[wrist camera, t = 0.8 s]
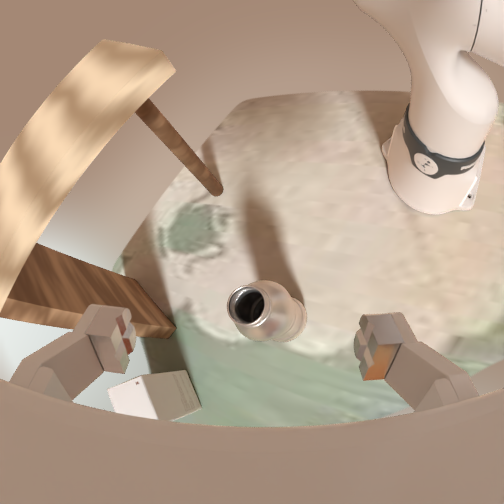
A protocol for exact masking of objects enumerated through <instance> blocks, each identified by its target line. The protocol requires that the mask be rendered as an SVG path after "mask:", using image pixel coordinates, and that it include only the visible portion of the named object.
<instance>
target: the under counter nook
mask: <svg viewBox="0 0 504 504" xmlns="http://www.w3.org/2000/svg"><path fill="white" fill-rule="evenodd" d="M175 72H176V70H175V68H174V67H173V66H172V64H171V63H170V61H169V60H168V59H167V57H166V56H165V54H164V53H163V51H161V50H157V49H153V48H148V47H143V46H138V45H133V44H128V43H123V42H117V41H111V40H105V39H103V40H102V41H101V42H100V43H99V44H98V45H97V46H95V47H94V48H93V49H92V50H91V51H90V52H89V53H88V54H87V55H86V56H85V57H84V58H83V59H82V60H81V61H80V62H79V63H78V64H77V65H76V66H75V67H74V68H73V69H72V70H71V72H70V73H69V74H68V75H67V76H66V77H65V78H64V79H63V80H62V81H61V82H60V84H59V85H58V86H57V87H56V88H55V89H54V91H53V92H52V93H51V94H50V95H49V97H48V98H47V99H46V100H45V101H44V103H43V104H42V105H41V106H40V108H39V109H38V110H37V111H36V113H35V114H34V115H33V116H32V118H31V119H30V121H29V122H28V123H27V125H26V126H25V127H24V129H23V130H22V131H21V133H20V134H19V136H18V137H17V139H16V140H15V142H14V143H13V145H12V146H11V148H10V149H9V151H8V152H7V154H6V155H5V157H4V158H3V160H2V162H1V163H0V317H2V318H7V319H12V320H17V321H23V322H29V323H35V324H40V325H46V326H53V327H60V328H67V329H74V328H75V327H76V325H77V323H78V322H79V320H80V319H81V317H82V315H83V314H84V312H85V311H86V309H87V308H88V306H89V305H91V304H96V305H106V306H114V307H123V308H128V309H129V310H130V313H131V316H132V317H131V320H130V323H131V324H132V325H133V326H134V327H135V331H136V336H139V337H152V338H166V339H168V338H169V337H170V336H171V334H172V333H173V332H174V331H175V330H176V327H175V326H174V325H173V324H172V323H171V321H170V320H169V319H168V318H167V317H166V316H165V315H164V313H163V312H162V311H161V310H160V309H159V308H158V306H157V305H156V304H155V303H154V302H153V301H152V299H151V298H150V297H149V296H148V295H147V293H146V292H145V291H144V290H143V288H142V287H141V286H140V285H139V284H138V282H137V281H136V280H135V279H132V278H129V277H126V276H123V275H120V274H117V273H114V272H112V271H109V270H106V269H103V268H100V267H98V266H95V265H92V264H89V263H86V262H84V261H81V260H78V259H76V258H73V257H71V256H68V255H66V254H63V253H60V252H57V251H55V250H52V249H50V248H48V247H45V246H43V245H40V244H38V243H36V242H37V241H38V239H39V237H40V236H41V234H42V233H43V231H44V229H45V228H46V226H47V224H48V223H49V221H50V220H51V218H52V217H53V215H54V214H55V212H56V211H57V209H58V208H59V206H60V205H61V203H62V202H63V200H64V199H65V197H66V196H67V194H68V193H69V192H70V190H71V189H72V187H73V186H74V185H75V183H76V182H77V181H78V179H79V178H80V177H81V175H82V174H83V172H84V171H85V170H86V169H87V167H88V166H89V165H90V163H91V162H92V161H93V160H94V159H95V157H96V156H97V155H98V153H99V152H100V151H101V150H102V148H103V147H104V146H105V145H106V144H107V143H108V142H109V140H110V139H111V138H112V137H113V135H114V134H115V133H116V132H117V131H118V130H119V129H120V128H121V126H122V125H123V124H124V123H125V122H126V121H127V120H128V119H129V118H130V117H131V116H132V115H133V113H134V112H135V113H136V114H137V115H138V116H139V117H140V118H141V119H142V121H143V122H144V123H145V124H146V125H147V126H148V127H149V128H150V129H151V130H152V131H153V132H154V133H155V134H156V135H157V136H158V138H159V139H160V140H161V141H162V142H163V143H164V144H165V145H166V146H167V147H168V148H169V149H170V150H171V151H172V152H173V153H174V155H175V156H176V157H177V158H178V159H179V160H180V161H181V162H182V163H183V164H184V165H185V166H186V167H187V168H188V169H189V171H190V172H191V173H192V174H193V175H194V176H195V177H196V178H197V179H198V180H199V181H200V182H201V183H202V184H203V186H204V187H205V188H206V189H207V190H208V191H209V192H210V193H211V194H212V195H213V196H219V195H221V194H222V192H223V187H222V185H221V184H220V183H219V182H218V180H217V179H216V178H215V177H214V176H213V174H212V173H211V172H210V171H209V170H208V168H207V167H206V166H205V165H204V163H203V162H202V161H201V160H200V159H199V157H198V156H197V155H196V154H195V153H194V151H193V150H192V149H191V148H190V147H189V146H188V145H187V143H186V142H185V141H184V140H183V138H182V137H181V136H180V135H179V134H178V132H177V131H176V130H175V129H174V128H173V127H172V125H171V124H170V123H169V122H168V120H167V119H166V118H165V117H164V116H163V115H162V113H161V112H160V111H159V110H158V109H157V107H156V106H155V105H154V104H153V103H152V102H151V100H150V99H149V97H150V96H151V95H152V94H153V93H154V92H155V91H156V90H157V89H158V88H159V87H160V86H161V85H162V84H163V83H164V82H165V81H166V80H167V79H168V78H170V77H171V76H172V75H173V74H174V73H175Z"/></svg>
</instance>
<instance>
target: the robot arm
mask: <svg viewBox="0 0 504 504" xmlns="http://www.w3.org/2000/svg"><path fill="white" fill-rule="evenodd" d="M353 2H354V3H355V4H356V6H358V8H359V9H360V10H361V11H363V12H364V13H365V14H367V15H368V16H370V17H371V18H372V19H374V20H375V21H376V22H377V23H379V24H380V25H381V26H382V27H383V28H384V29H385V30H386V31H387V32H388V33H389V34H390V35H391V37H392V38H393V39H394V40H395V41H396V43H397V44H398V46H399V47H400V49H401V50H402V52H403V54H404V56H405V58H406V60H407V62H408V65H409V68H410V72H411V98H410V103H409V104H408V106H407V108H406V111H405V114H404V117H403V118H402V119H401V120H400V123H399V124H398V125H395V127H394V130H393V134H392V137H390V138H389V139H388V140H387V141H386V142H384V143H383V145H382V149H381V150H382V153H383V155H384V157H385V159H386V161H387V164H388V175H389V180H390V183H391V185H392V187H393V189H394V191H395V192H396V194H397V195H398V196H399V197H400V198H401V199H402V200H403V201H404V202H405V203H406V204H407V205H409V206H410V207H412V208H414V209H416V210H418V211H420V212H423V213H427V214H443V213H447V212H449V211H452V210H470V209H472V207H473V205H474V202H475V198H476V193H477V189H478V185H479V180H480V175H481V170H482V165H483V160H484V154H485V138H486V136H487V134H488V133H489V131H490V128H491V126H492V124H493V122H494V120H495V118H496V116H497V113H498V106H499V105H498V97H497V93H496V90H495V87H494V85H493V83H492V81H491V79H490V78H489V76H488V74H487V73H486V72H485V71H484V69H483V68H482V67H481V66H480V65H479V64H478V63H477V62H476V61H475V60H474V59H473V58H472V57H471V56H470V55H469V54H468V53H467V51H468V52H473V53H475V54H477V55H479V56H482V57H484V58H486V59H488V60H490V61H492V62H495V63H497V64H499V65H501V66H503V67H504V0H353ZM467 196H470V198H468V197H467ZM131 317H132V316H131V313H130V310H129V309H128V308H123V307H114V306H106V305H96V304H91V305H89V306H88V308H87V309H86V311H85V312H84V314H83V315H82V317H81V319H80V320H79V322H78V323H77V325H76V327H75V328H74V330H73V332H68V333H66V334H64V335H63V336H61V337H59V338H58V339H56V340H54V341H53V342H51V343H49V344H48V345H46V346H44V347H42V348H41V349H39V350H38V351H36V352H34V353H33V354H31V355H29V356H28V357H26V358H24V359H23V360H22V362H21V363H20V365H19V366H18V368H17V369H16V371H15V373H14V374H13V376H12V378H11V380H10V381H9V382H7V381H5V380H2V379H0V504H504V388H502V389H499V390H496V391H493V392H490V393H487V394H484V395H481V396H479V394H478V392H477V390H476V389H475V387H474V385H473V383H472V381H471V379H470V377H469V375H468V373H467V372H466V371H464V370H463V369H461V368H460V367H458V366H457V365H455V364H454V363H452V362H451V361H449V360H448V359H447V358H445V357H444V356H442V355H441V354H439V353H438V352H436V351H435V350H433V349H432V348H430V347H429V346H427V345H426V344H424V343H423V342H418V341H417V339H416V337H415V335H414V333H413V332H412V330H411V328H410V326H409V324H408V322H407V321H406V319H405V317H404V315H403V314H402V313H401V312H396V313H388V314H387V313H385V314H363V315H362V317H361V318H360V322H359V325H360V327H361V329H359V330H358V331H357V332H356V335H355V338H354V352H355V356H356V358H357V359H359V360H360V361H361V362H360V365H359V369H360V372H361V375H362V378H363V381H366V380H379V379H385V381H386V382H387V383H388V384H389V385H390V386H391V387H392V388H393V389H394V390H395V391H396V392H397V393H398V394H399V395H400V396H401V397H402V398H403V399H404V400H405V401H406V402H407V403H408V404H409V405H410V406H411V407H412V408H413V409H414V410H415V411H414V412H413V413H410V414H404V415H399V416H394V417H387V418H380V419H374V420H366V421H358V422H350V423H340V424H330V425H316V426H298V427H233V426H214V425H201V424H190V423H180V422H172V421H164V420H157V419H150V418H143V417H137V416H131V415H126V414H121V413H115V412H111V411H106V410H101V409H96V408H92V407H88V406H84V405H80V404H76V403H73V401H72V400H73V399H74V398H75V397H76V396H78V395H79V394H80V393H81V392H82V391H83V390H84V389H85V388H87V387H88V386H89V385H90V384H91V383H92V382H93V381H94V380H95V379H97V378H98V377H99V376H100V375H101V374H102V373H103V372H104V371H108V372H114V373H122V374H125V371H126V369H127V366H128V363H129V361H130V360H129V357H128V355H129V354H130V353H131V352H133V350H134V347H135V343H136V331H135V327H134V326H133V325H132V324H131V323H130V320H131Z"/></svg>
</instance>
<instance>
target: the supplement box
mask: <svg viewBox="0 0 504 504" xmlns="http://www.w3.org/2000/svg"><path fill="white" fill-rule="evenodd" d="M107 391H108V394H109V397H110V400H111V402H112V405H113V408H114V411H115V413H121V414H126V415H131V416H137V417H143V418H150V419H157V420H164V421H174V420H176V419H179V418H181V417H184V416H186V415H188V414H191V413H193V412H195V411H198V410H200V409H201V408H202V407H201V405H200V403H199V400H198V398H197V396H196V393H195V391H194V388H193V386H192V384H191V381H190V379H189V376H188V374H187V371H186V370H180V371H172V372H164V373H156V374H147V375H140V376H138V377H135V378H133V379H131V380H128V381H126V382H124V383H121V384H119V385H116V386H114V387H112V388H109V389H107Z"/></svg>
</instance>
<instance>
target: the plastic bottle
mask: <svg viewBox="0 0 504 504" xmlns="http://www.w3.org/2000/svg"><path fill="white" fill-rule="evenodd" d="M227 311H228V314H229V317H230V318H231V319H232V320H233V321H234V323H235V325H236V327H237V329H238V330H239V331H240V333H241V334H243V335H244V336H245V337H247V338H249V339H251V340H254V341H268V340H274V341H277V342H288V341H291V340H294V339H295V338H297V337H298V336H299V335H300V334H301V333H302V332H303V330H304V328H305V326H306V323H307V313H306V310H305V308H304V306H303V304H302V303H301V302H300V301H299V300H297V299H295V298H293V297H291V296H290V295H289V293H288V291H287V290H286V289H285V288H284V287H283V286H282V285H280V284H279V283H276V282H274V281H270V280H260V281H256V282H253V283H250V284H249V285H245V286H241V287H239V288H237V289H236V290H235V291H233V293H232V294H231V295H230V297H229V299H228V302H227Z"/></svg>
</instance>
